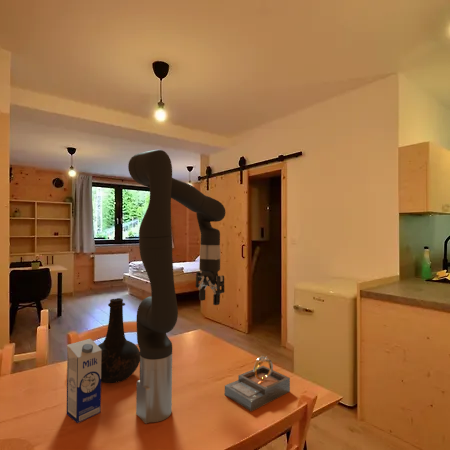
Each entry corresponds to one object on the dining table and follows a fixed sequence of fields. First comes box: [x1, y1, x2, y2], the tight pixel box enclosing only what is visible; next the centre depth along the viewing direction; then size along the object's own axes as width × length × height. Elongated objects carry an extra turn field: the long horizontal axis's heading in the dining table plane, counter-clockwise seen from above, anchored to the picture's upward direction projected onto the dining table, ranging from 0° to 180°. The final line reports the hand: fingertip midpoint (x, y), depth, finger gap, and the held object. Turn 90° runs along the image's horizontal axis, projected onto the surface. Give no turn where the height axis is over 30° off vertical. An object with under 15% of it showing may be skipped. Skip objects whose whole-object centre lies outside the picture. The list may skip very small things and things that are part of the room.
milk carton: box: [66, 338, 102, 424], centre depth 91 cm, size 7×7×20 cm
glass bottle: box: [97, 297, 140, 384], centre depth 113 cm, size 18×18×28 cm
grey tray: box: [224, 365, 291, 412], centre depth 103 cm, size 18×12×4 cm, turn 130°
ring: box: [252, 355, 274, 381], centre depth 105 cm, size 7×3×8 cm, turn 110°
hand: (209, 302), depth 114 cm, fingers open, 8 cm apart
